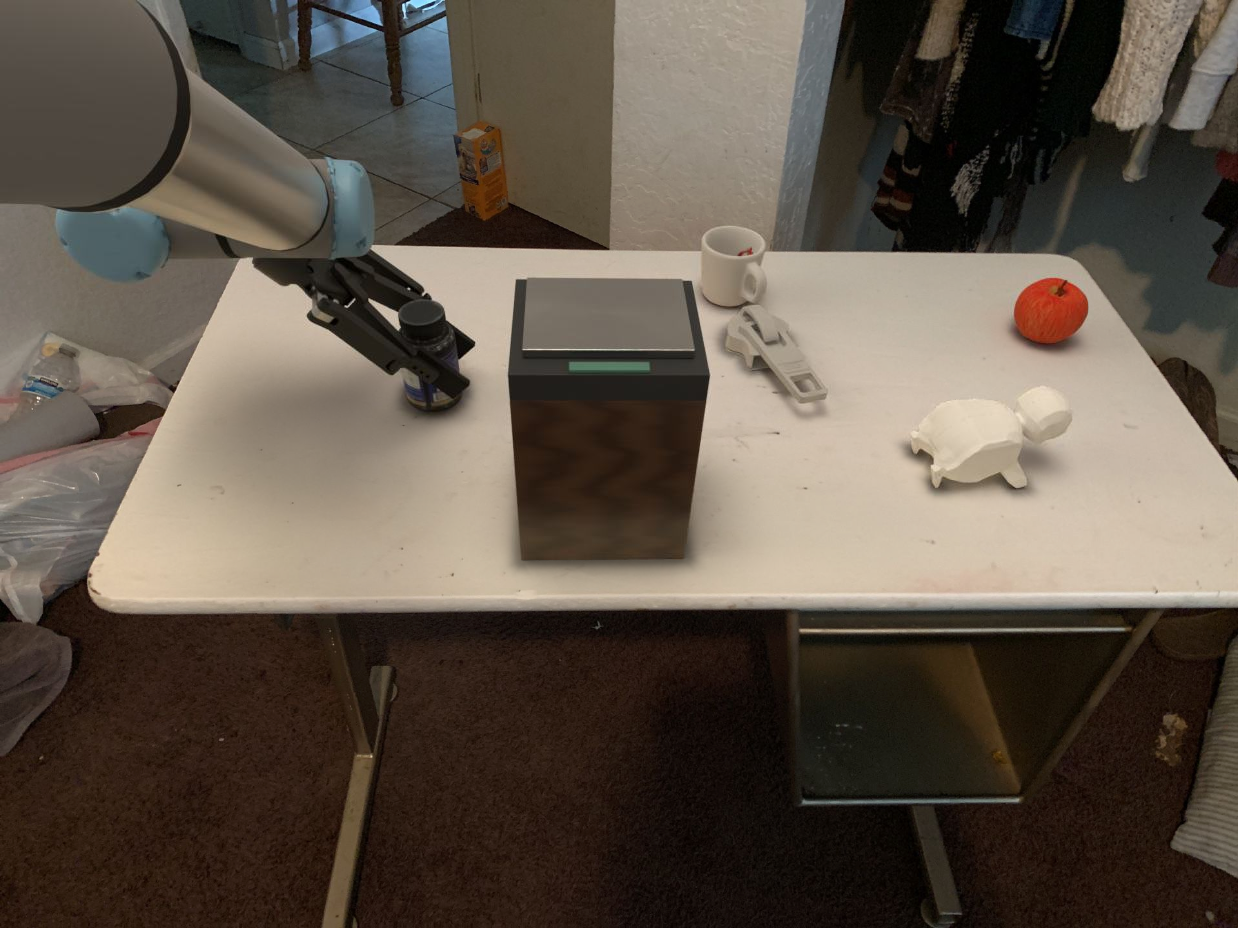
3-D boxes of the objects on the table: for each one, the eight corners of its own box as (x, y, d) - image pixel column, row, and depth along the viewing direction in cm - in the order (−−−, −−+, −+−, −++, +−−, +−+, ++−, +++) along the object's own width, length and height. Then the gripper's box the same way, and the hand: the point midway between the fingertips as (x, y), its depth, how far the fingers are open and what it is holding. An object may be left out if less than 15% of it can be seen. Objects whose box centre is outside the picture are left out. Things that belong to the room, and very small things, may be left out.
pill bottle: (464, 377, 95) (454, 294, 87) (460, 413, 90) (450, 329, 83) (409, 378, 94) (394, 295, 87) (402, 413, 90) (386, 329, 82)
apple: (1061, 319, 108) (1088, 264, 102) (1079, 356, 102) (1109, 301, 96) (999, 313, 108) (1022, 259, 102) (1013, 350, 102) (1039, 295, 97)
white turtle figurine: (943, 516, 86) (1087, 465, 84) (938, 464, 80) (1093, 408, 78) (908, 459, 92) (1043, 410, 90) (902, 407, 86) (1045, 354, 84)
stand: (521, 560, 76) (509, 400, 63) (526, 461, 85) (517, 304, 72) (684, 558, 77) (706, 400, 64) (671, 460, 86) (689, 305, 73)
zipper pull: (777, 423, 91) (784, 393, 88) (713, 330, 103) (717, 301, 100) (841, 410, 93) (850, 380, 90) (770, 320, 105) (776, 291, 102)
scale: (509, 400, 63) (507, 366, 61) (517, 304, 72) (515, 270, 70) (706, 400, 64) (711, 366, 61) (689, 305, 73) (692, 272, 71)
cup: (782, 314, 106) (793, 259, 101) (731, 331, 103) (740, 275, 97) (732, 274, 113) (741, 219, 107) (683, 288, 110) (689, 233, 104)
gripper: (275, 207, 86) (451, 337, 99) (220, 312, 73) (432, 448, 85) (316, 158, 83) (493, 300, 95) (266, 259, 69) (480, 409, 81)
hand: (464, 369), depth 90 cm, fingers closed on pill bottle, 6 cm apart
